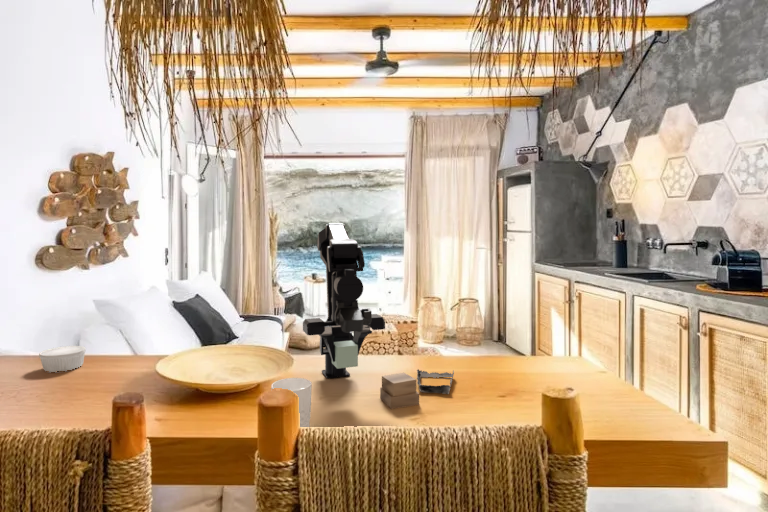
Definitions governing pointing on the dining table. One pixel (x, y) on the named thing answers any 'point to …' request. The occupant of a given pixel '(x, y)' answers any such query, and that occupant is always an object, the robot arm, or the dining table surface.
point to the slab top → (399, 384)
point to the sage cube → (345, 354)
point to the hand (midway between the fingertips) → (344, 360)
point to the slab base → (399, 399)
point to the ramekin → (62, 358)
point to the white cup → (299, 395)
